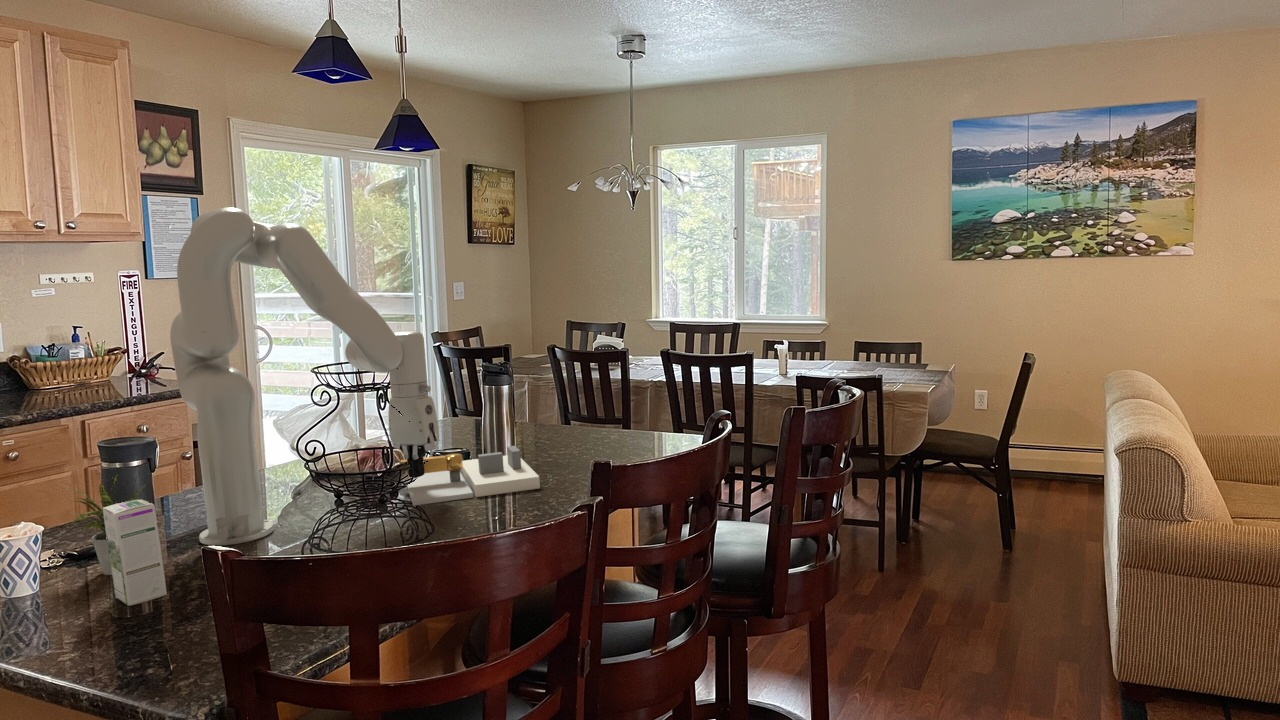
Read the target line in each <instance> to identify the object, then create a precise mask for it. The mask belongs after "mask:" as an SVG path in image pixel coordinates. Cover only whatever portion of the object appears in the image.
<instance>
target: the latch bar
mask: <svg viewBox="0 0 1280 720" xmlns="http://www.w3.org/2000/svg"><path fill="white" fill-rule="evenodd" d="M423 461H425V464H424V473H432V472H441V471H458V470H461V469H463V463H462V461H463V455H462V453H449V454H446V455H438V456H428V457H426V456H425V457H423ZM426 461H428V462H426ZM405 462H407V459H401V460H400V464H401V463H405ZM406 475H408V473H407V474H406Z"/></svg>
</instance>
